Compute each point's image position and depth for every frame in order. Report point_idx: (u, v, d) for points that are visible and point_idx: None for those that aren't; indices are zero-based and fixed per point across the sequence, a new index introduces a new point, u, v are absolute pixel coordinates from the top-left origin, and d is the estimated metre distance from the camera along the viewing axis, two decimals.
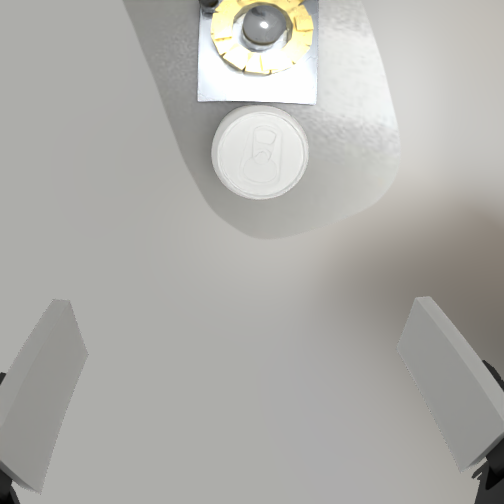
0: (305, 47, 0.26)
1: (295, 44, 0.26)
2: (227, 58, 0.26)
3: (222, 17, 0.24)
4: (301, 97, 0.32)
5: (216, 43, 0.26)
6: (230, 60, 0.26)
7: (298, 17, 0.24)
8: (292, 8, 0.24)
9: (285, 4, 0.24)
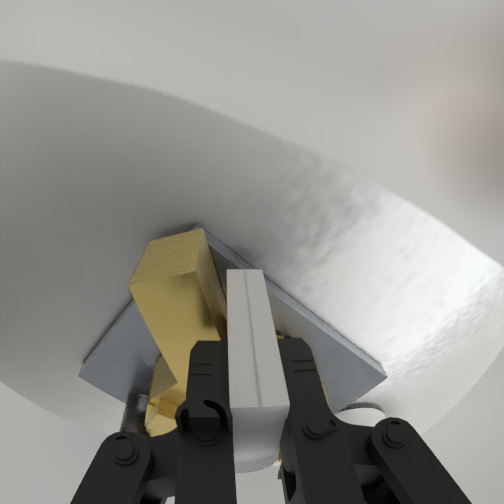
0: None
1: None
2: None
3: None
4: (363, 388, 0.19)
5: None
6: None
7: None
8: None
9: None
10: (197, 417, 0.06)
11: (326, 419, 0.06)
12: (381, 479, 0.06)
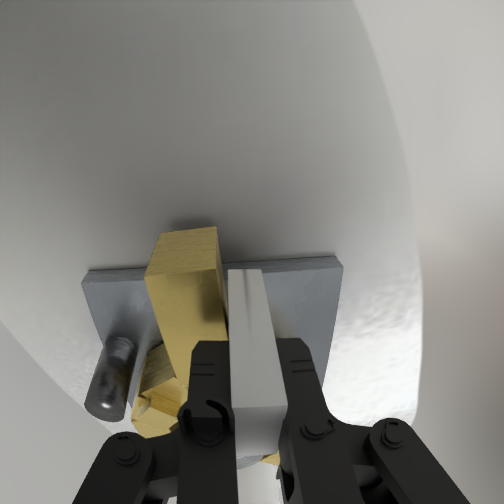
0: None
1: None
2: None
3: None
4: None
5: None
6: None
7: None
8: None
9: None
10: (199, 417, 0.06)
11: (324, 419, 0.06)
12: (380, 479, 0.06)
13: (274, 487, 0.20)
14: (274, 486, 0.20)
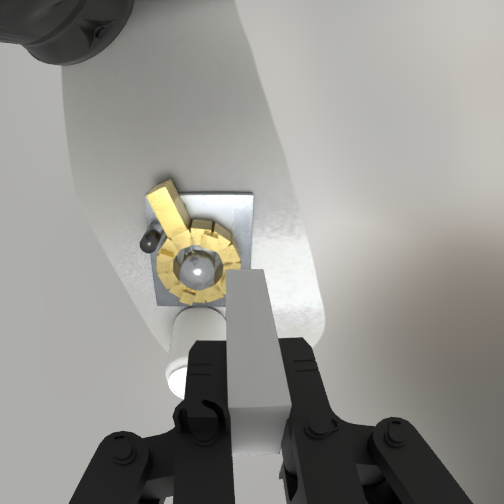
0: (230, 247, 0.36)
1: (224, 253, 0.37)
2: (210, 300, 0.40)
3: (175, 288, 0.38)
4: None
5: (194, 301, 0.39)
6: (213, 299, 0.39)
7: (202, 245, 0.35)
8: (191, 238, 0.36)
9: (185, 242, 0.36)
10: (195, 417, 0.06)
11: (328, 419, 0.06)
12: (382, 479, 0.06)
13: (225, 337, 0.42)
14: (225, 336, 0.42)
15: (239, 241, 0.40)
